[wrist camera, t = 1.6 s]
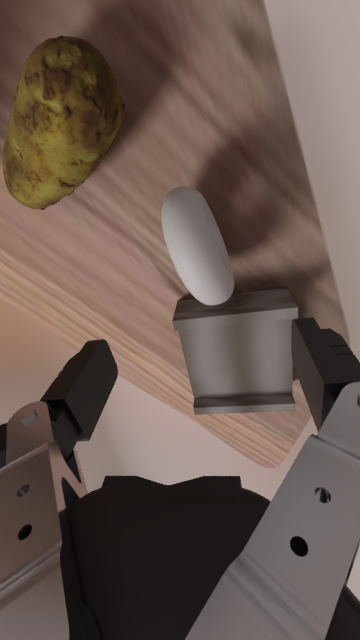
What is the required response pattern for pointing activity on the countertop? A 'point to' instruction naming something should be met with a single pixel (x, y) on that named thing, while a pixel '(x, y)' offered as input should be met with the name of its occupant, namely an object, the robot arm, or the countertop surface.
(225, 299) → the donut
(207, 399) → the base
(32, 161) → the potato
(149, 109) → the countertop surface
